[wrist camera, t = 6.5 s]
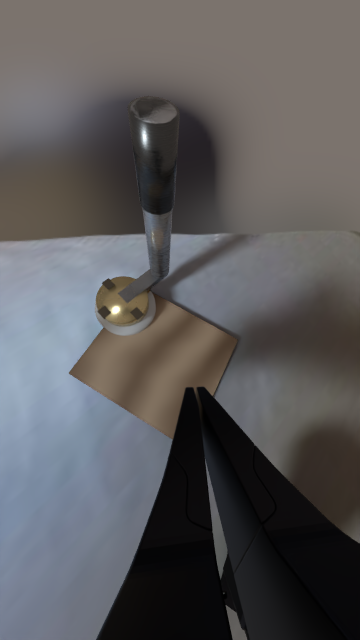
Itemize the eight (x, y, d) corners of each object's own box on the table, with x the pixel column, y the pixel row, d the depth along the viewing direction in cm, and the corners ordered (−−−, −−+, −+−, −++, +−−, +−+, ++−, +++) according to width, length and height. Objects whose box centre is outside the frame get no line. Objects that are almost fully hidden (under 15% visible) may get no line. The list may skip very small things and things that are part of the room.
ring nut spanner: (122, 338, 21) (18, 233, 6) (89, 302, 22) (-68, 138, 7) (183, 286, 24) (215, 132, 9) (151, 257, 25) (133, 76, 10)
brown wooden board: (235, 341, 24) (241, 337, 22) (187, 446, 20) (190, 453, 18) (122, 278, 26) (118, 270, 24) (54, 361, 21) (43, 360, 19)
